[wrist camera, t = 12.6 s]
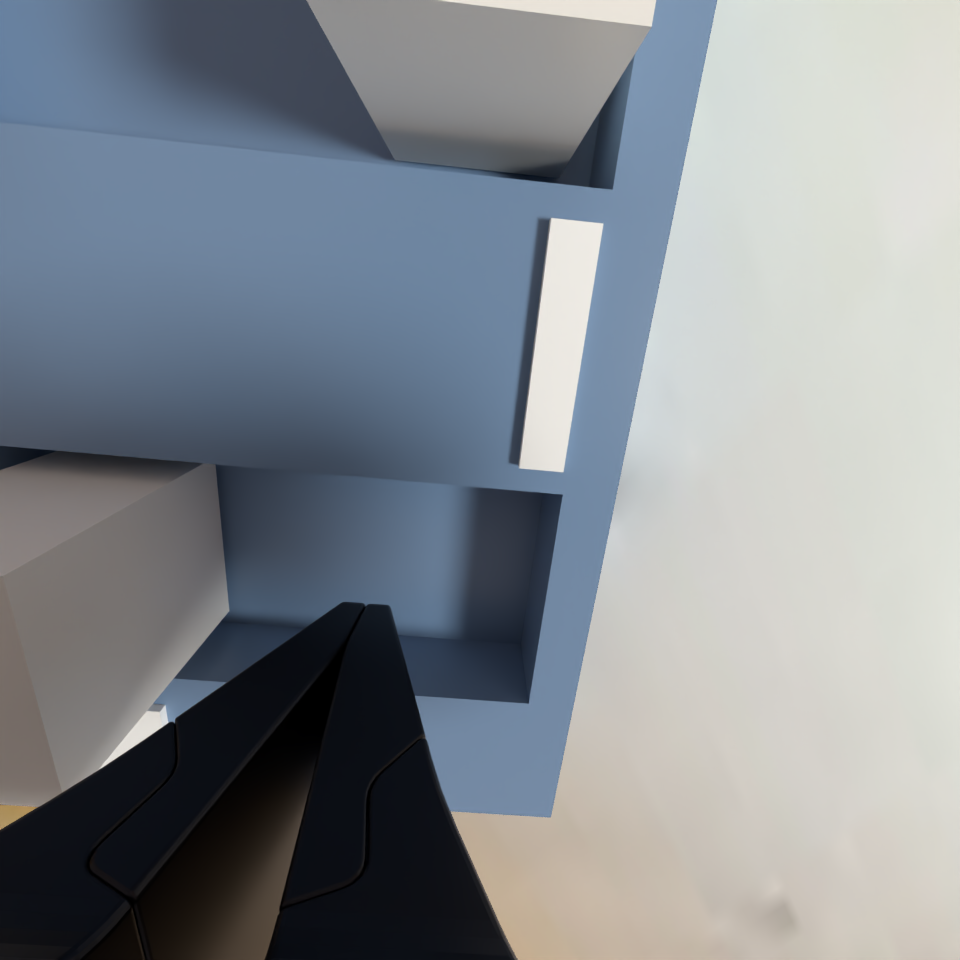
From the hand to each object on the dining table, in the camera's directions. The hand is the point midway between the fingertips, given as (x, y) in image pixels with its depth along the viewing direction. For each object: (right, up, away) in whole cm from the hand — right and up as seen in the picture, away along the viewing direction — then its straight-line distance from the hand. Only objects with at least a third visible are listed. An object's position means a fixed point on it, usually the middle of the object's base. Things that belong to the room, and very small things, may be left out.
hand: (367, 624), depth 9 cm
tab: (-6, +1, +3) cm, 6 cm away
